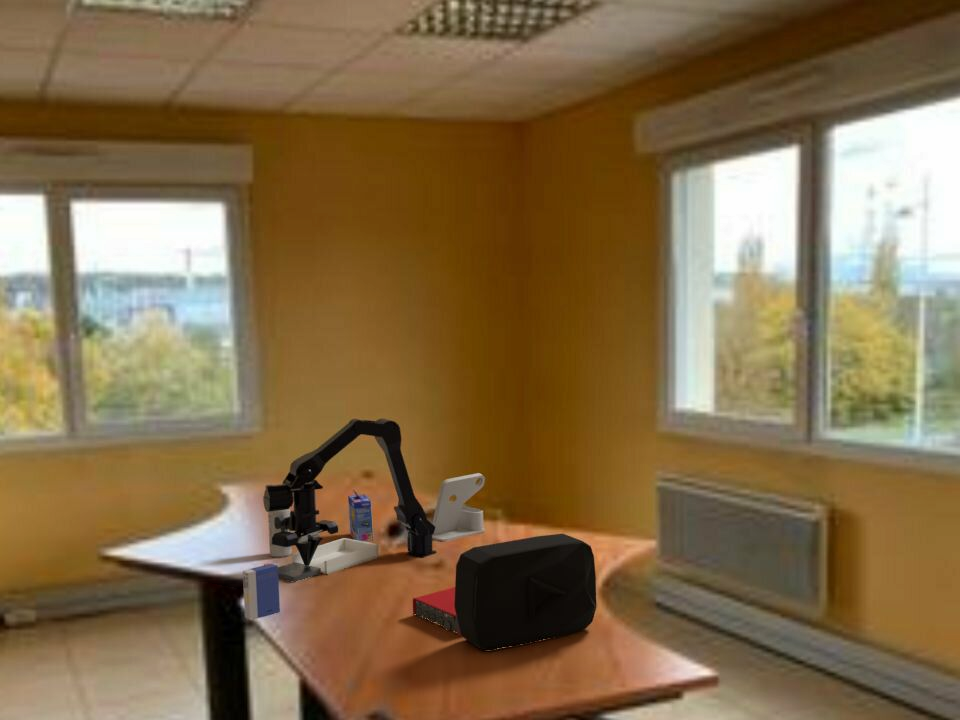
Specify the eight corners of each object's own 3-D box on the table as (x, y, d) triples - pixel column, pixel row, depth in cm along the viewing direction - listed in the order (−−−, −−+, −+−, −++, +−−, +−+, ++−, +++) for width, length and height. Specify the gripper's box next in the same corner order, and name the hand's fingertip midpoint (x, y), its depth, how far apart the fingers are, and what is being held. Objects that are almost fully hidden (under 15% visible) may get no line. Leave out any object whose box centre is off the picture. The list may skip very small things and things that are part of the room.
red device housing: (413, 618, 224) (412, 597, 223) (462, 604, 232) (462, 584, 232) (460, 639, 210) (459, 617, 209) (511, 624, 218) (511, 602, 218)
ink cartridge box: (348, 534, 299) (347, 487, 298) (366, 533, 301) (365, 486, 300) (355, 542, 290) (353, 494, 289) (374, 540, 292) (372, 492, 291)
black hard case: (574, 617, 221) (572, 529, 219) (606, 633, 210) (605, 541, 209) (454, 643, 207) (451, 550, 205) (482, 662, 196) (479, 564, 194)
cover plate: (321, 577, 258) (320, 568, 258) (294, 586, 251) (294, 576, 251) (295, 571, 264) (295, 562, 264) (269, 579, 257) (268, 570, 257)
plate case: (378, 558, 272) (378, 544, 272) (327, 576, 257) (326, 561, 257) (344, 551, 280) (344, 537, 280) (292, 568, 265) (292, 553, 265)
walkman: (273, 612, 230) (271, 561, 229) (280, 615, 228) (277, 564, 227) (243, 620, 224) (241, 569, 223) (250, 623, 222) (247, 571, 221)
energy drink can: (286, 559, 274) (284, 506, 273) (266, 559, 275) (264, 506, 274) (295, 553, 280) (292, 501, 278) (275, 553, 281) (273, 501, 280)
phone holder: (466, 525, 307) (464, 468, 306) (487, 531, 299) (486, 472, 298) (422, 536, 295) (420, 477, 294) (443, 542, 288) (441, 481, 286)
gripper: (310, 496, 271) (312, 552, 273) (256, 510, 257) (259, 568, 258) (338, 501, 265) (340, 558, 266) (285, 515, 250) (287, 575, 251)
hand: (306, 565), depth 260 cm, fingers closed
